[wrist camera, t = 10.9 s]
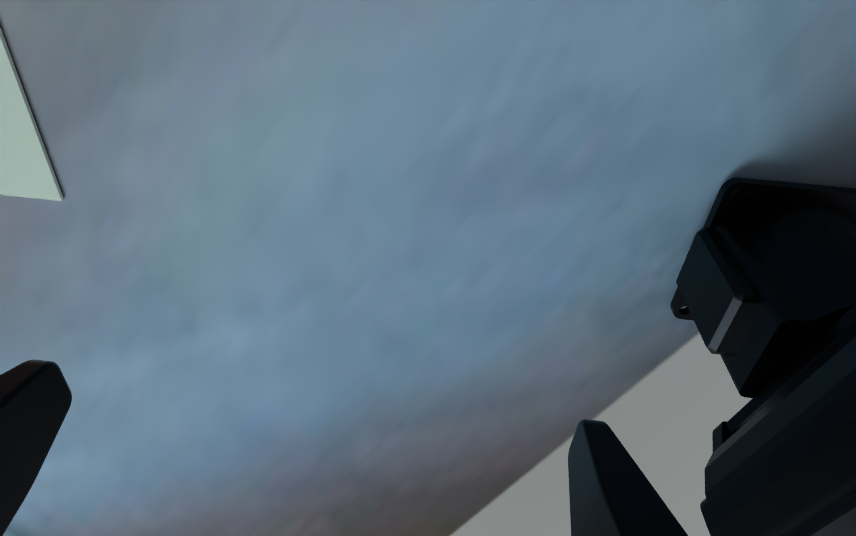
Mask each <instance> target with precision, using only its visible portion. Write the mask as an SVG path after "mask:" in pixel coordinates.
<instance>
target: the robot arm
mask: <svg viewBox="0 0 856 536" xmlns="http://www.w3.org/2000/svg"><path fill="white" fill-rule="evenodd" d="M736 189H741V191H740V193H739V194H737V195H735V196H731V193H732V192H733V191H735V190H736ZM676 282H677V285H678V288H677V290H676V292H675V295H674V297H673V299H672V302H671V306H670V307H671V309H672V311H673V314H674V316H675V317H677V318H679V319H685V320H694V322H695V324H696V326H697V328H698V330H699V332H700V334H701V337H702V339H703V341H704V343H705V345H706V347H707V348H708V349H709V351H710V352H711V353H712V354H720V355H721V357H722V359H723V361H724V363H725V365H726V367H727V369H728V371H729V373H730V375H731V377H732V380H733V381H734V384H735V386H736V388H737V390H738V392H739V394H740V395H741V396H743V397H749V398H753V399H752V400H751V401H749V402H748V403H747V404H746V405H745V406H744V407H743V408H742V409H741V410H740V411H739V412H737V413H736V414H735V415H734V416H733V417H732V418H731V419H730V420H729V421H728V422H725V421H724V422H722V423H721V424H720V425H719V426H718V427H717V428H715V429H714V430H713V454H712V456H711V458H710V459H709V462H708V463H707V465H706V467H705V495H706V499H705V500H703V501H702V503H701V505H700V506H701V511H702V514H703V517H704V519H705V522H706V525H707V527H708V530H709V533H710V535H711V536H856V189H851V188H841V187H831V186H821V185H810V184H800V183H790V182H780V181H769V180H759V179H749V178H732V179H730V180H728V181H726V182H725V183H724V184H723V185H722V187H721V188H720V190H719V193H718V195H717V197H716V199H715V202H714V204H713V206H712V209H711V211H710V213H709V216H708V218H707V220H706V223H705V225H704V227H703V228H702V229H701V230H700V231H698V232H697V233H696V236H695V238H694V240H693V243H692V245H691V248H690V250H689V252H688V255H687V257H686V259H685V262H684V264H683V266H682V269H681V271H680V273H679V276H678V278H677V281H676ZM683 306H687V307H686V308H684V309H680V308H681V307H683ZM71 401H72V394H71V391H70V389H69V387H68V384H67V382H66V380H65V378H64V376H63V374H62V372H61V370H60V368H59V366H58V365H57V364H56V363H54V362H51V361H42V360H29V361H26V362H24V363H22V364H20V365H18V366H16V367H14V368H12V369H11V370H9V371H7V372H5V373H3V374H1V375H0V536H3V534H4V532H5V531H6V529H7V527H8V526H9V524H10V522H11V521H12V519H13V517H14V516H15V514H16V513H17V511H18V509H19V508H20V506H21V504H22V503H23V501H24V499H25V497H26V496H27V494H28V492H29V490H30V489H31V487H32V485H33V483H34V481H35V479H36V477H37V475H38V473H39V471H40V469H41V467H42V465H43V462H44V460H45V458H46V456H47V454H48V452H49V450H50V448H51V446H52V444H53V441H54V439H55V437H56V435H57V433H58V431H59V429H60V427H61V425H62V423H63V420H64V418H65V416H66V414H67V412H68V410H69V408H70V405H71ZM568 467H569V468H568V469H569V491H570V514H571V536H688V535H687V533H686V532H685V531H684V530H683V528H682V527H681V525H680V524H679V523H678V521H677V520H676V518H675V517H674V516H673V514H672V513H671V512H670V510H669V509H668V508H667V506H666V504H665V503H664V502H663V500H662V499H661V498H660V496H659V495H658V494H657V492H656V491H655V489H654V488H653V487H652V485H651V484H650V482H649V481H648V480H647V478H646V477H645V475H644V474H643V473H642V471H641V470H640V468H639V467H638V466H637V464H636V463H635V462H634V460H633V459H632V457H631V456H630V455H629V453H628V452H627V451H626V449H625V448H624V446H623V445H622V444H621V442H620V441H619V440H618V438H617V437H616V435H615V434H614V433H613V431H612V430H611V428H610V427H609V426H608V425H607V424H606V423H605V422H602V421H596V420H587V419H583V420H581V421H580V422H579V424H578V426H577V429H576V432H575V434H574V437H573V440H572V443H571V446H570V449H569V455H568Z"/></svg>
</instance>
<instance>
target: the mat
mask: <svg viewBox="0 0 856 536" xmlns="http://www.w3.org/2000/svg"><path fill="white" fill-rule="evenodd" d="M0 195H7V196H17V197H27V198H37V199H47V200H57V201H62V200H64V198H63V195H62V192H61V190H60V187H59V184H58V181H57V179H56V176H55V173H54V171H53V168H52V165H51V163H50V160H49V157H48V155H47V152H46V149H45V146H44V144H43V141H42V138H41V136H40V133H39V130H38V128H37V125H36V122H35V119H34V117H33V114H32V111H31V109H30V106H29V103H28V101H27V98H26V95H25V93H24V90H23V87H22V84H21V82H20V79H19V76H18V74H17V71H16V68H15V66H14V63H13V60H12V58H11V55H10V52H9V49H8V47H7V44H6V41H5V39H4V36H3V33H2V31H1V28H0Z"/></svg>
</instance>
